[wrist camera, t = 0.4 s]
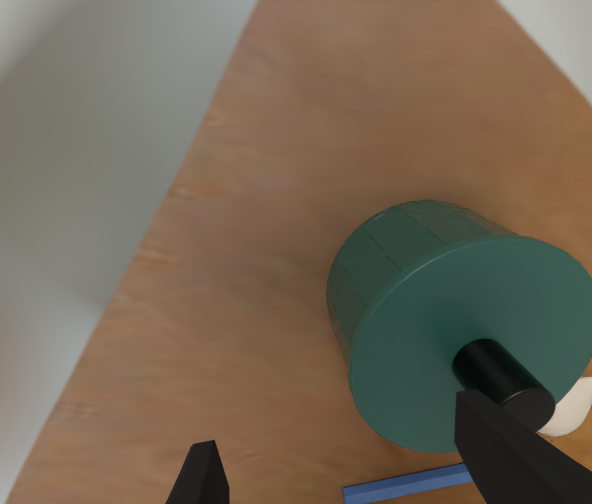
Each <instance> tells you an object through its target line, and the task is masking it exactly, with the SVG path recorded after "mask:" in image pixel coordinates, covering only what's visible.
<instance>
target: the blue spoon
mask: <svg viewBox="0 0 592 504" xmlns="http://www.w3.org/2000/svg"><path fill="white" fill-rule="evenodd" d="M472 481H473V479H472V478H471V476H470V474H469V472H468V470H467V468H466V466H465V464H464V463H463V464H458V465H453V466H448V467H443V468H438V469H434V470H429V471H424V472H419V473H414V474H409V475H404V476H400V477H395V478H390V479H385V480H380V481H375V482H370V483H365V484H361V485H356V486H351V487H346V488H343V495H344V501H345V504H366V503H371V502H376V501H381V500H386V499H390V498H395V497H400V496H405V495H409V494H414V493H419V492H424V491H429V490H433V489H438V488H443V487H448V486H453V485H457V484H462V483H467V482H472Z"/></svg>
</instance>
